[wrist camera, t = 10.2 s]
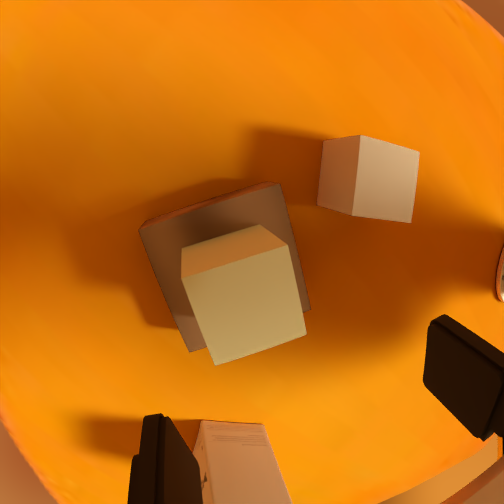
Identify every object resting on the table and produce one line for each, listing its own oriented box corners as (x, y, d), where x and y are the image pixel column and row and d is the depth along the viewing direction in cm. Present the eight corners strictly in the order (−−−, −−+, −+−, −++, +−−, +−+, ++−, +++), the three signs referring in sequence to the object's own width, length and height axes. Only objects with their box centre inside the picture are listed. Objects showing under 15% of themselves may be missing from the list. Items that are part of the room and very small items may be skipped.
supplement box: (199, 418, 29) (215, 518, 17) (265, 423, 31) (299, 512, 19) (188, 456, 30) (199, 544, 18) (247, 460, 32) (271, 541, 20)
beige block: (259, 224, 21) (287, 244, 15) (277, 295, 23) (307, 334, 17) (181, 248, 20) (181, 278, 15) (206, 318, 22) (215, 365, 16)
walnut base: (265, 181, 24) (280, 183, 21) (294, 290, 28) (311, 309, 24) (145, 220, 23) (138, 230, 20) (188, 327, 26) (189, 352, 23)
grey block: (376, 152, 25) (419, 152, 20) (369, 211, 27) (410, 223, 21) (323, 140, 24) (360, 134, 19) (316, 205, 25) (351, 215, 20)
